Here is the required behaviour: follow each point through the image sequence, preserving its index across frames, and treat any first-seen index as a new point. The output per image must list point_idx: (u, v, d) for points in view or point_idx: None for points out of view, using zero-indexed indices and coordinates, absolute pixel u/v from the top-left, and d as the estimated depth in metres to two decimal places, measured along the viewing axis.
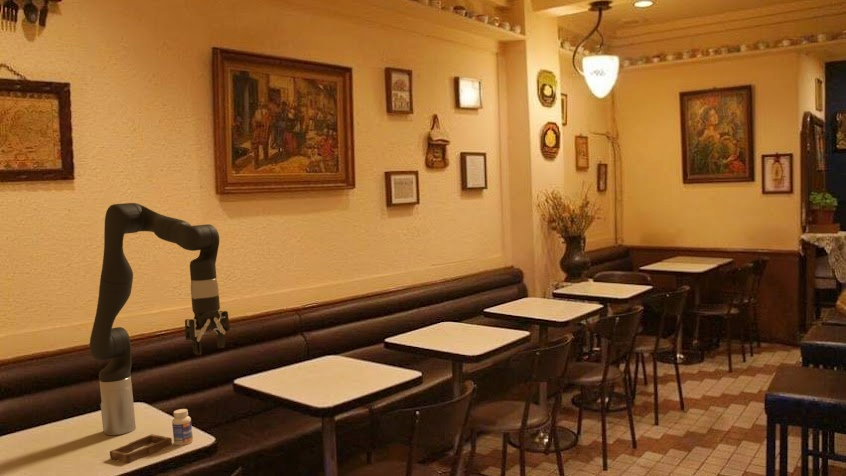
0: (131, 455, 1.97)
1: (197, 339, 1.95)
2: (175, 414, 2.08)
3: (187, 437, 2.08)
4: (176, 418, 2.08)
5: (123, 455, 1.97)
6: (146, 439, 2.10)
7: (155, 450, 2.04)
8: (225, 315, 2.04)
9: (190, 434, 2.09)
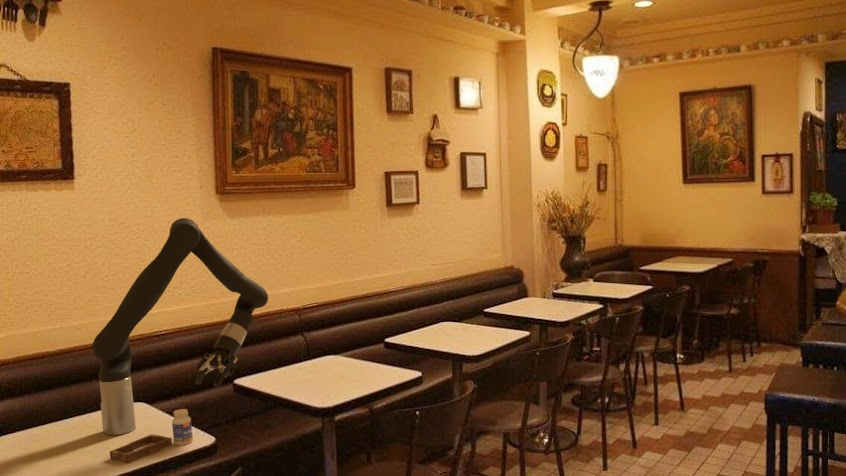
0: (131, 455, 1.97)
1: None
2: (175, 414, 2.08)
3: (187, 437, 2.08)
4: (176, 418, 2.08)
5: (123, 455, 1.97)
6: (146, 439, 2.10)
7: (155, 450, 2.04)
8: None
9: (190, 434, 2.09)
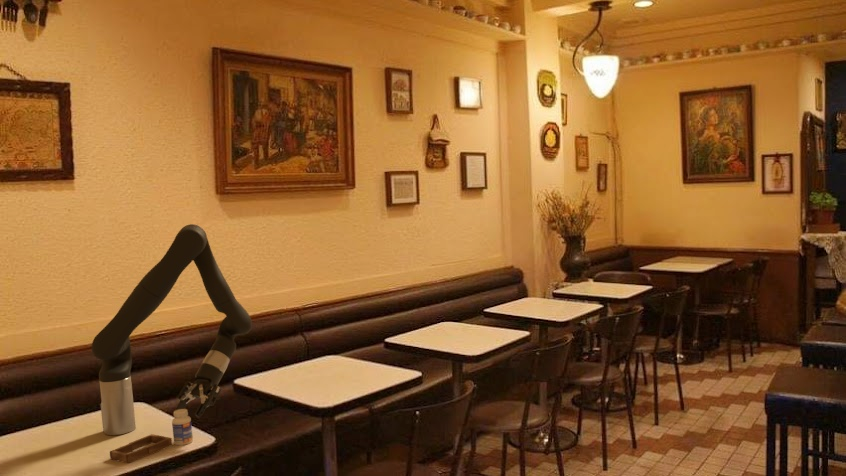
0: (131, 455, 1.97)
1: None
2: (175, 414, 2.08)
3: (187, 437, 2.08)
4: (176, 418, 2.08)
5: (123, 455, 1.97)
6: (146, 439, 2.10)
7: (155, 450, 2.04)
8: None
9: (190, 434, 2.09)
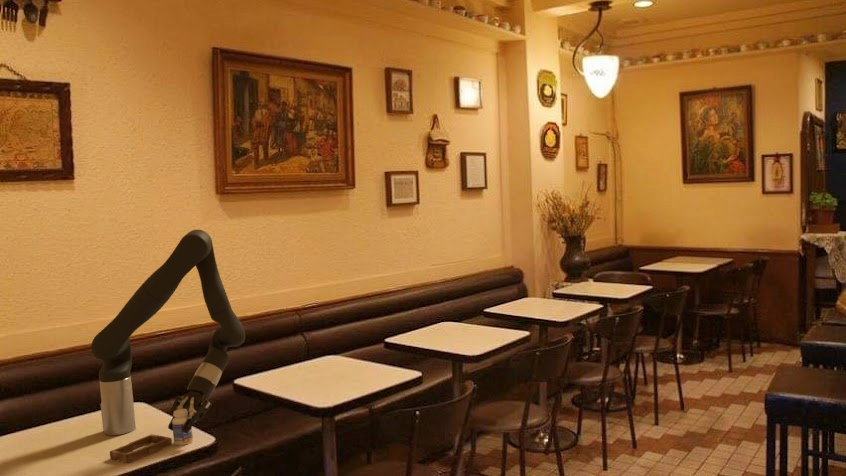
0: (131, 455, 1.97)
1: None
2: (175, 414, 2.08)
3: (187, 437, 2.08)
4: (176, 418, 2.08)
5: (123, 455, 1.97)
6: (146, 439, 2.10)
7: (155, 450, 2.04)
8: None
9: (190, 434, 2.09)
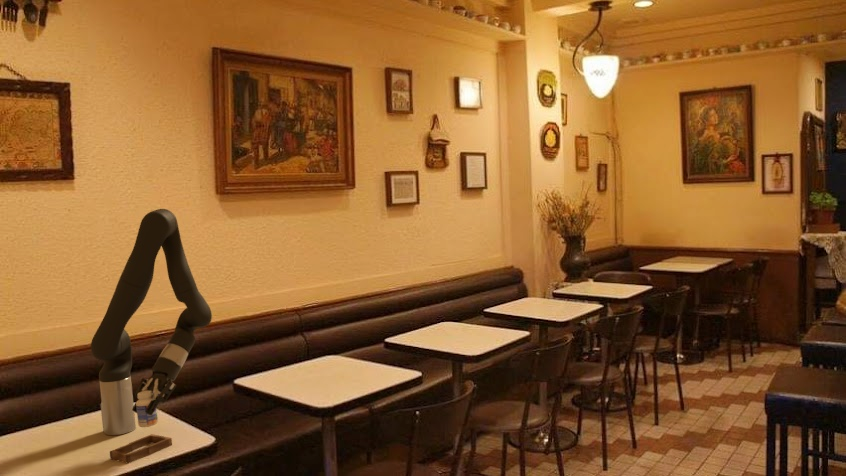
0: (131, 455, 1.97)
1: None
2: (139, 396, 2.04)
3: (151, 419, 2.05)
4: (140, 400, 2.04)
5: (123, 455, 1.97)
6: (146, 439, 2.10)
7: (155, 450, 2.04)
8: None
9: (155, 416, 2.06)
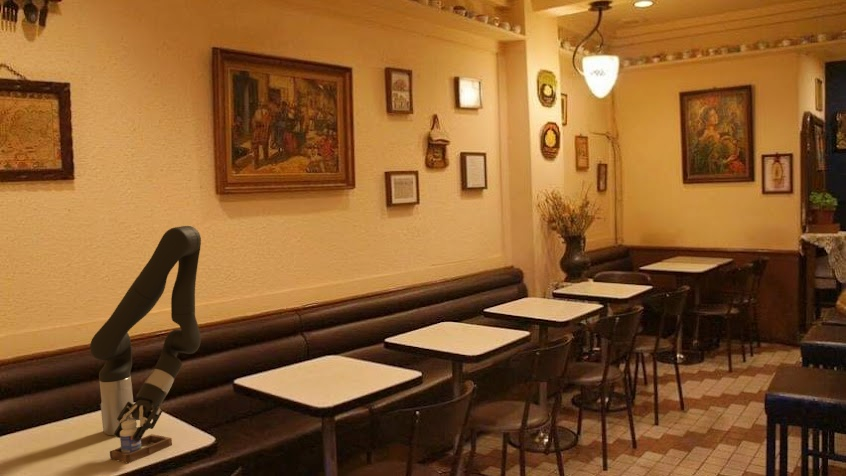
0: (131, 455, 1.97)
1: None
2: (123, 425, 2.00)
3: (135, 450, 2.00)
4: (124, 430, 2.00)
5: (123, 455, 1.97)
6: (146, 439, 2.10)
7: (155, 450, 2.04)
8: None
9: (139, 446, 2.01)
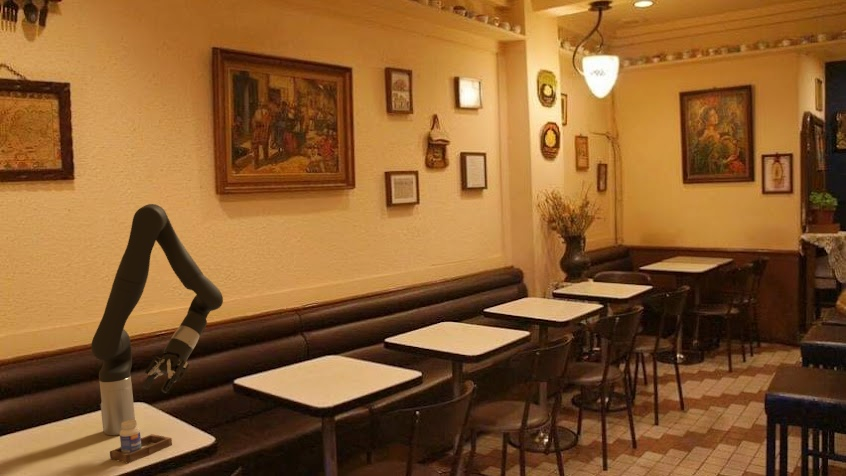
0: (131, 455, 1.97)
1: None
2: (123, 425, 2.00)
3: (135, 450, 2.00)
4: (124, 430, 2.00)
5: (123, 455, 1.97)
6: (146, 439, 2.10)
7: (155, 450, 2.04)
8: None
9: (139, 446, 2.01)
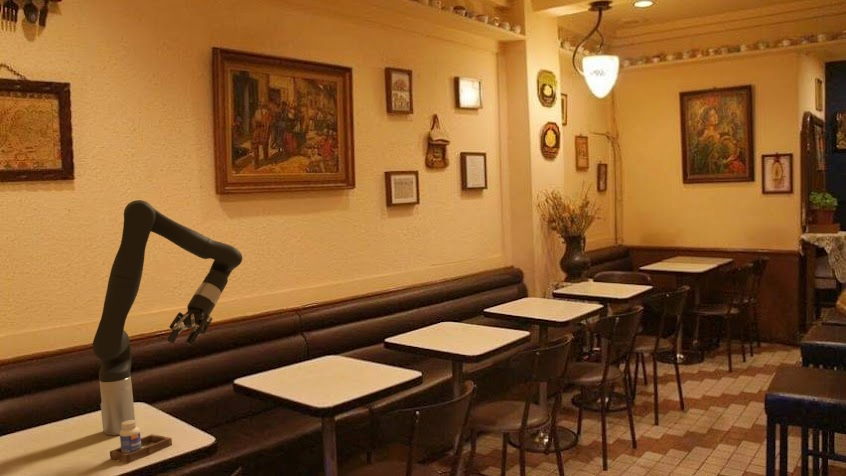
0: (131, 455, 1.97)
1: None
2: (123, 425, 2.00)
3: (135, 450, 2.00)
4: (124, 430, 2.00)
5: (123, 455, 1.97)
6: (146, 439, 2.10)
7: (155, 450, 2.04)
8: None
9: (139, 446, 2.01)
